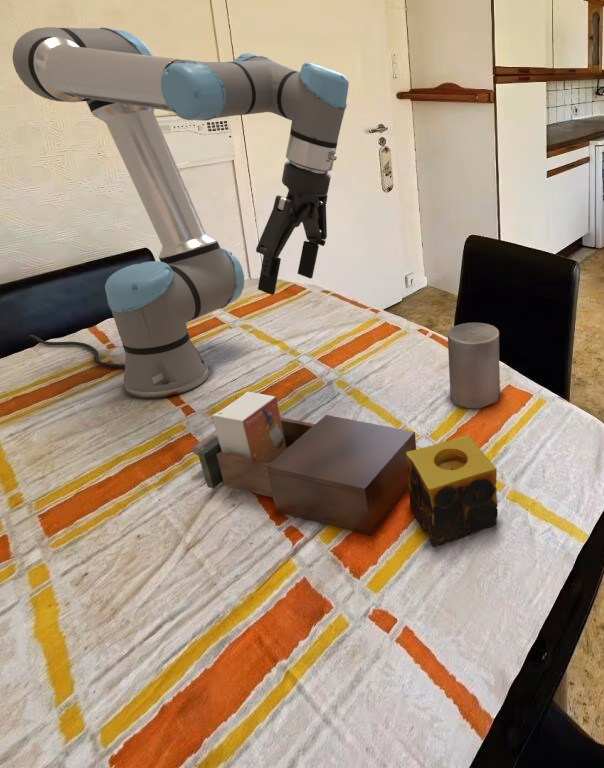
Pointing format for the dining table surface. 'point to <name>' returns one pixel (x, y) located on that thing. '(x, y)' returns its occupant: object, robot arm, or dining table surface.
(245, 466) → the drawer
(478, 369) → the grey upright cylinder
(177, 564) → the dining table surface
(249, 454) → the small box
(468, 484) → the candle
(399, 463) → the cabinet
